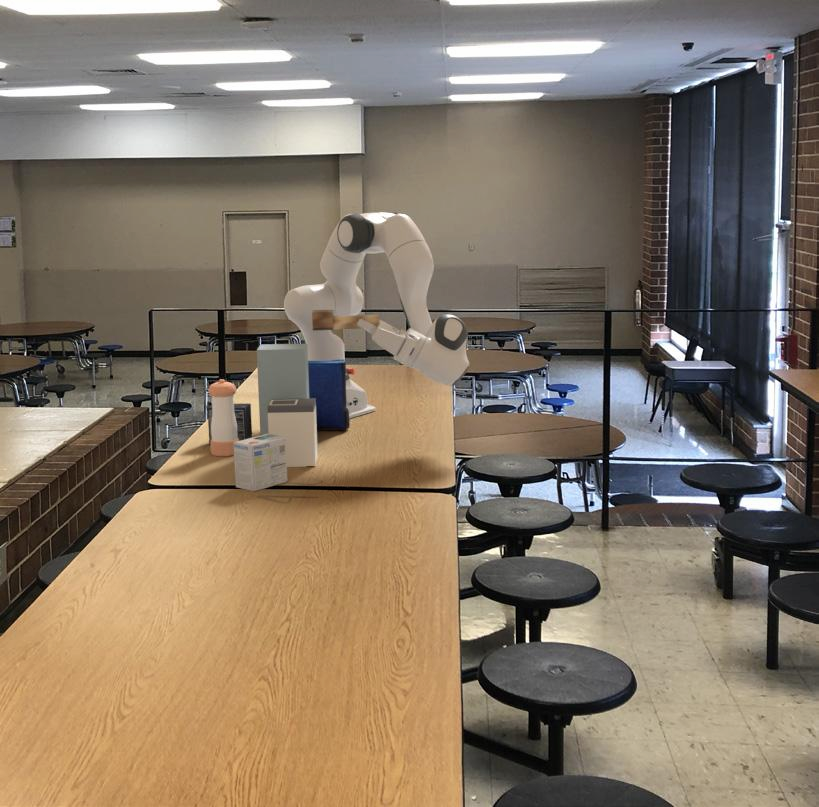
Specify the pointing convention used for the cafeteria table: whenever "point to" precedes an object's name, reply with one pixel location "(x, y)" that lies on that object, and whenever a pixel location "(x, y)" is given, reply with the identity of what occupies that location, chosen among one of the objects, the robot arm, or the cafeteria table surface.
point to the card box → (295, 429)
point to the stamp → (339, 320)
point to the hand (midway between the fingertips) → (358, 320)
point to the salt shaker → (223, 418)
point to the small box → (241, 418)
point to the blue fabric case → (329, 393)
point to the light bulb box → (260, 462)
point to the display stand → (281, 375)
